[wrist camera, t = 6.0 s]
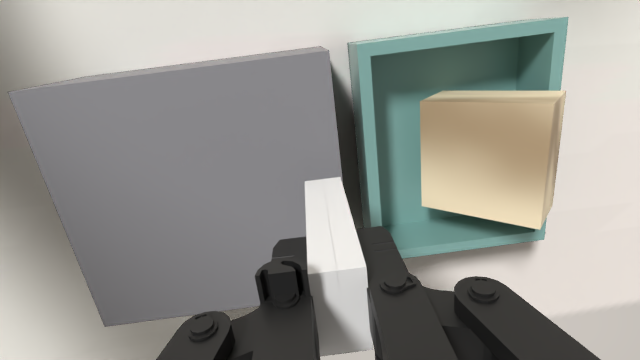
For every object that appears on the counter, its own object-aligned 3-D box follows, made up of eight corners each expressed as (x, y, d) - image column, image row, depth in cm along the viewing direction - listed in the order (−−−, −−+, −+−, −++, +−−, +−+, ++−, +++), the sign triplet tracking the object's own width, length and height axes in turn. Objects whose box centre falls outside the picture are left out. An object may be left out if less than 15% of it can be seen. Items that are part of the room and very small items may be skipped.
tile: (554, 103, 16) (566, 90, 18) (419, 101, 20) (442, 90, 22) (540, 229, 18) (552, 204, 20) (421, 206, 22) (442, 187, 24)
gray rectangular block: (85, 76, 21) (7, 91, 15) (320, 46, 21) (328, 50, 15) (147, 261, 25) (104, 326, 20) (341, 235, 25) (354, 293, 20)
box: (347, 42, 21) (356, 44, 18) (526, 19, 21) (568, 16, 18) (364, 232, 25) (374, 262, 22) (512, 213, 25) (544, 239, 22)
